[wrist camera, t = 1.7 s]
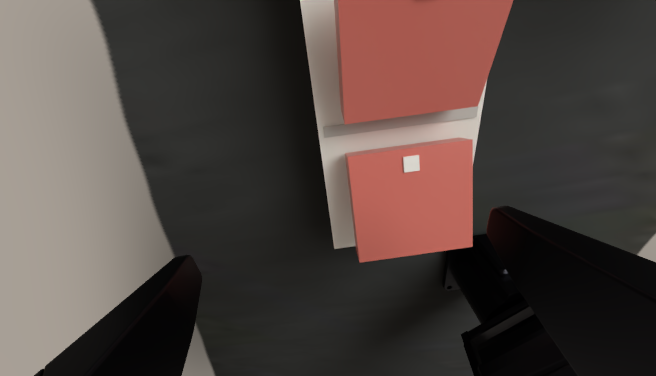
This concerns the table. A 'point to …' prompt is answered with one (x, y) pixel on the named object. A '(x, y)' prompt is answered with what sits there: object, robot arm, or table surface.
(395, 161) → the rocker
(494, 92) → the table surface
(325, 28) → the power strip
